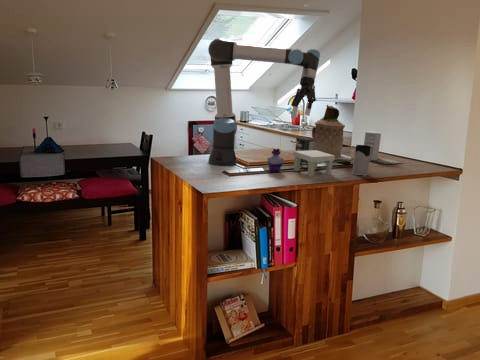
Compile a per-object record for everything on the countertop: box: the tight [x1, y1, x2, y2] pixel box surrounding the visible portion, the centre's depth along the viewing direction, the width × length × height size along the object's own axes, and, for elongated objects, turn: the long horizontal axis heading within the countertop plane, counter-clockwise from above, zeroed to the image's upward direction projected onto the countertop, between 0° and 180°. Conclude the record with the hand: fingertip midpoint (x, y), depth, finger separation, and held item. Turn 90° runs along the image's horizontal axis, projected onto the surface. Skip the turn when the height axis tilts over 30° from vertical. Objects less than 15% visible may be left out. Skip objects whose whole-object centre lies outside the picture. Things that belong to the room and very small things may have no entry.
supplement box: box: [363, 130, 382, 161], centre depth 284 cm, size 10×9×17 cm
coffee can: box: [294, 136, 315, 165], centre depth 260 cm, size 10×10×14 cm
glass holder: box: [351, 144, 373, 176], centre depth 241 cm, size 9×14×15 cm, turn 135°
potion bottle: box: [266, 147, 285, 174], centre depth 233 cm, size 9×9×12 cm
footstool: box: [292, 150, 336, 177], centre depth 237 cm, size 15×15×10 cm
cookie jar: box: [311, 104, 352, 161], centre depth 280 cm, size 25×25×32 cm
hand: (299, 116), depth 242 cm, fingers open, 13 cm apart
